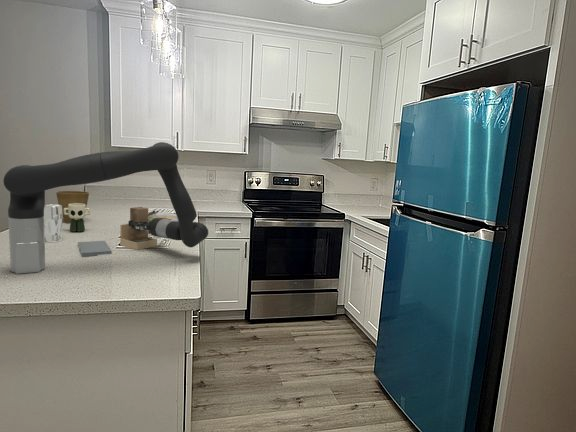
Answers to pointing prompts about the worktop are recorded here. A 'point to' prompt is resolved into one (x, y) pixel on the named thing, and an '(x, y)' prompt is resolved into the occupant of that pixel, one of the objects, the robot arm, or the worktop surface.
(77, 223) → the character mug
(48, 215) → the beer glass
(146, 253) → the worktop surface
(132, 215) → the walnut block
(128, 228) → the carton
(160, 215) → the ramen bowl
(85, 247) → the blue-grey flat slab
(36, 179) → the robot arm
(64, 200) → the plant pot
